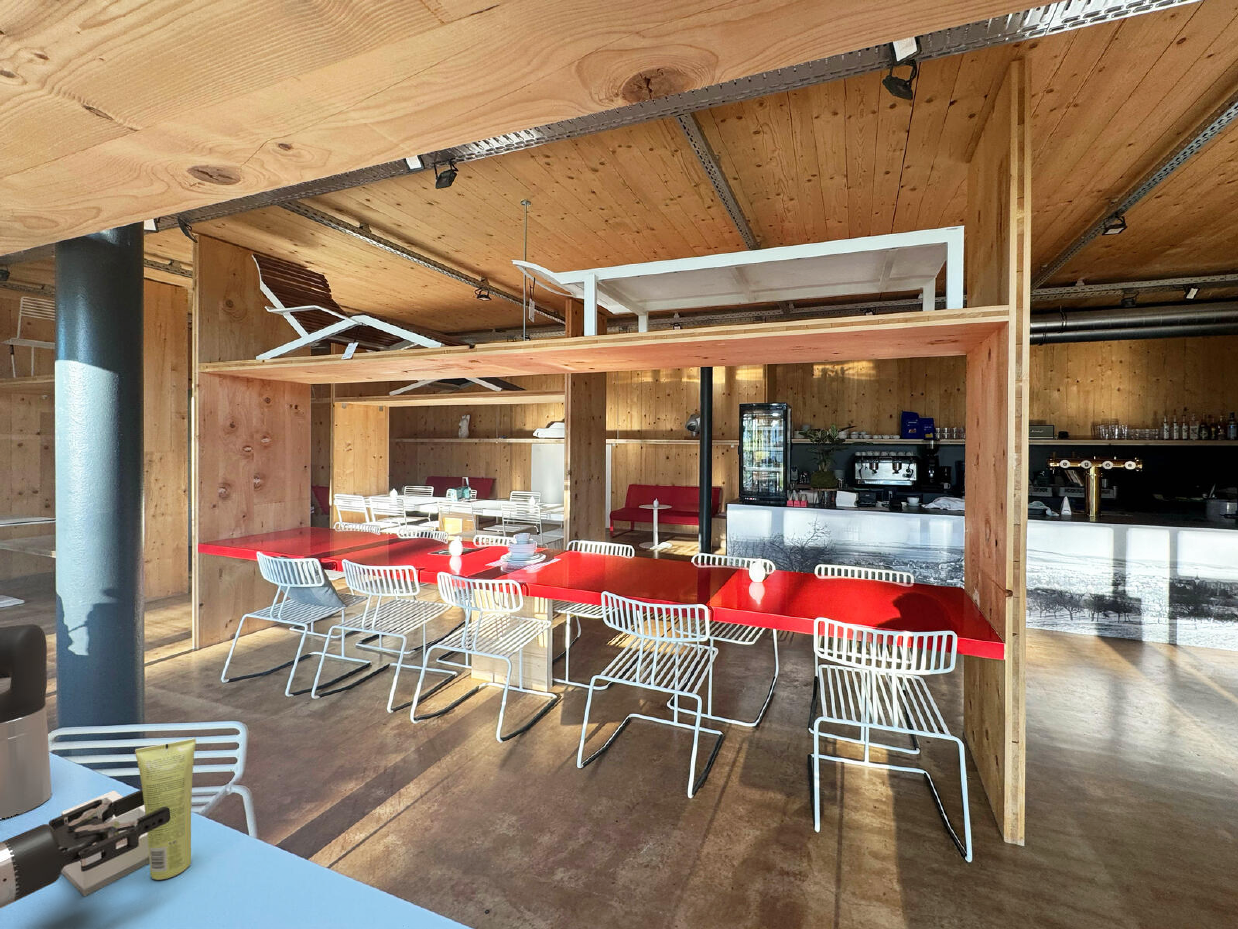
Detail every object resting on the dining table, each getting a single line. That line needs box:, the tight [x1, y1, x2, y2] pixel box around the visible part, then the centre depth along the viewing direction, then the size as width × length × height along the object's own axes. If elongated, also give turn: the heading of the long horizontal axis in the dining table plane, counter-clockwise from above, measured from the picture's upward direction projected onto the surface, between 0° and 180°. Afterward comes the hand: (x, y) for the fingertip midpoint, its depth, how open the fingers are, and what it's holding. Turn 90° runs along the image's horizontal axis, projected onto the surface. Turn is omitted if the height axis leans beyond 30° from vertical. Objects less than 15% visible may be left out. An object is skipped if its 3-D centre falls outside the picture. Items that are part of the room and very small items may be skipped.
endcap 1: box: [60, 790, 124, 816], centre depth 99 cm, size 7×7×4 cm
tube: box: [134, 737, 197, 881], centre depth 89 cm, size 6×5×20 cm
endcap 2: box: [61, 805, 150, 897], centre depth 92 cm, size 12×11×4 cm
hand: (156, 804), depth 88 cm, fingers open, 8 cm apart
